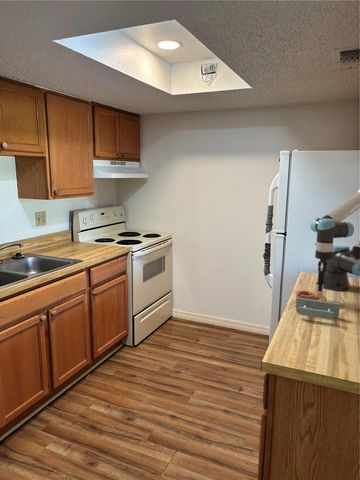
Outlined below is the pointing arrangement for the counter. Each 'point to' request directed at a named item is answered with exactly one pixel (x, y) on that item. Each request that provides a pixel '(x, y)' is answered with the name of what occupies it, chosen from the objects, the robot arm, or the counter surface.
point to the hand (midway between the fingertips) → (319, 296)
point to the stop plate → (317, 308)
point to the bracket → (309, 296)
